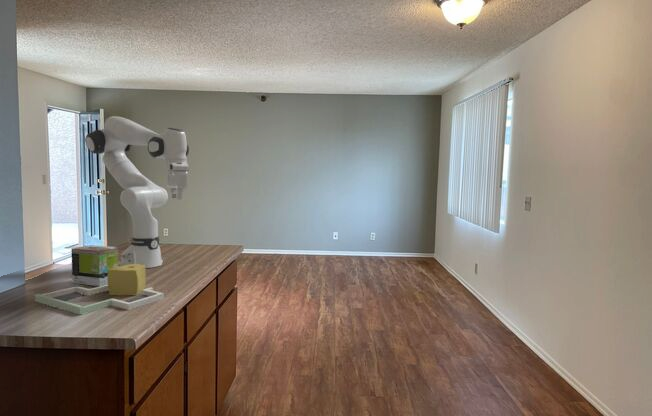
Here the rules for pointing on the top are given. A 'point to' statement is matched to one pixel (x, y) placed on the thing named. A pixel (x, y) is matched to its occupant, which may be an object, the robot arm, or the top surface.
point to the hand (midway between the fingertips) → (176, 198)
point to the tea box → (93, 264)
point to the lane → (70, 293)
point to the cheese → (126, 279)
